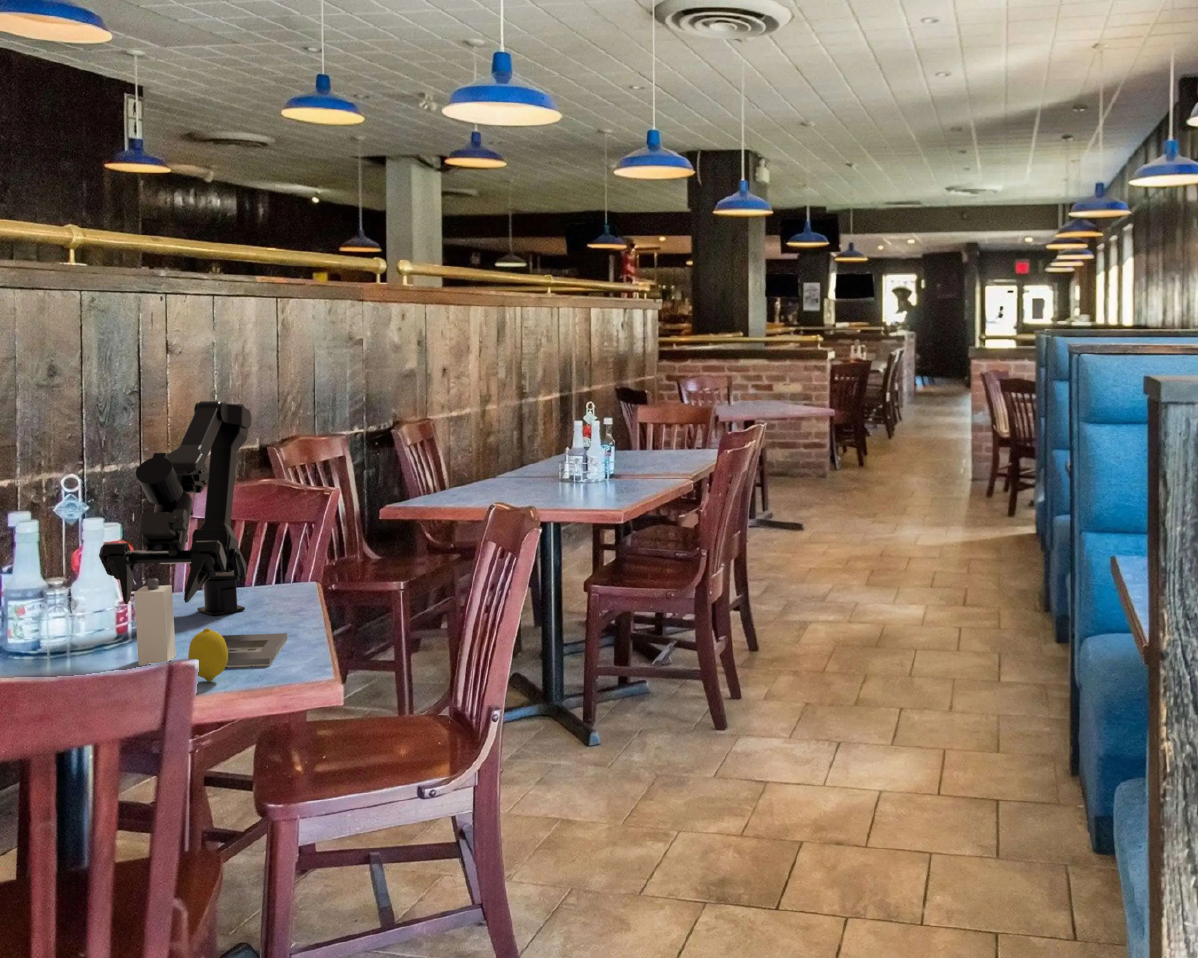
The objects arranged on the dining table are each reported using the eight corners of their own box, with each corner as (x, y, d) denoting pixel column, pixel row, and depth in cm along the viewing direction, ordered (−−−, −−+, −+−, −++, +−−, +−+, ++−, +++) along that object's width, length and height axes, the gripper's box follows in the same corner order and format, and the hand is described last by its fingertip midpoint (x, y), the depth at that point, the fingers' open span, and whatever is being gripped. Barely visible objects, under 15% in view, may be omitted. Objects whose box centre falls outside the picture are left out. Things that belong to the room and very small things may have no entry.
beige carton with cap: (147, 657, 196) (142, 576, 194) (175, 656, 196) (171, 575, 194) (138, 665, 191) (133, 582, 189) (167, 664, 191) (163, 581, 190)
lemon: (237, 677, 183) (234, 625, 182) (213, 688, 178) (210, 633, 177) (205, 675, 185) (202, 622, 184) (181, 685, 180) (178, 631, 179)
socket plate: (213, 642, 204) (213, 635, 204) (287, 640, 205) (287, 633, 205) (189, 668, 188) (189, 661, 188) (269, 665, 189) (269, 658, 189)
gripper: (99, 493, 196) (80, 574, 186) (219, 490, 198) (206, 571, 188) (117, 534, 205) (99, 614, 195) (231, 531, 206) (220, 610, 196)
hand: (155, 602), depth 193 cm, fingers open, 9 cm apart
